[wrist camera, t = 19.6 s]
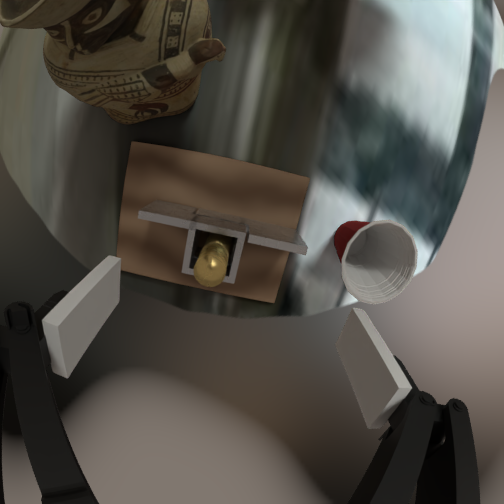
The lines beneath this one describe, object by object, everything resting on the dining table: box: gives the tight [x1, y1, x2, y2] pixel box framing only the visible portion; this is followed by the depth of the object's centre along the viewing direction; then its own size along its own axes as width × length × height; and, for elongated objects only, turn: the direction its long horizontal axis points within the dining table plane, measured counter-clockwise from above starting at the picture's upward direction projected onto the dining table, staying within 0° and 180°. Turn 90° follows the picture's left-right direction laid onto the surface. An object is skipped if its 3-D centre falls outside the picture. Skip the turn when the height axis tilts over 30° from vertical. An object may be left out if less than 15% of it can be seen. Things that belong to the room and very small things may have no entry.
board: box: [116, 141, 310, 303], centre depth 42 cm, size 20×26×1 cm
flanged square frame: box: [138, 200, 246, 284], centre depth 38 cm, size 7×13×8 cm, turn 77°
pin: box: [193, 232, 232, 287], centre depth 35 cm, size 3×3×14 cm
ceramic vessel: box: [0, 0, 226, 124], centre depth 20 cm, size 19×21×30 cm
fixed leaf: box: [194, 208, 308, 265], centre depth 39 cm, size 7×14×8 cm, turn 77°
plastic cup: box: [334, 220, 417, 304], centre depth 38 cm, size 11×11×12 cm
